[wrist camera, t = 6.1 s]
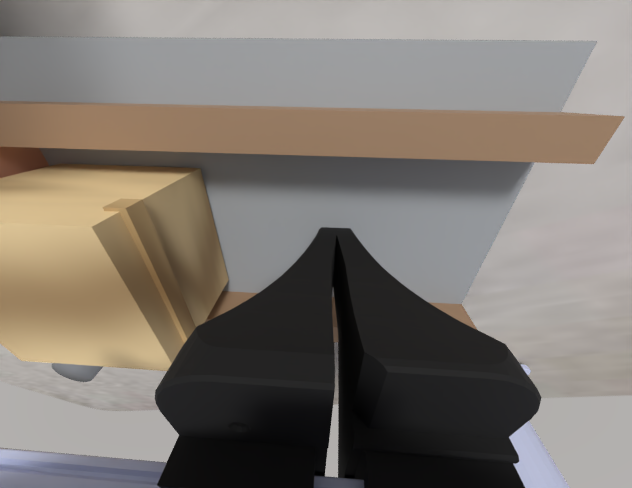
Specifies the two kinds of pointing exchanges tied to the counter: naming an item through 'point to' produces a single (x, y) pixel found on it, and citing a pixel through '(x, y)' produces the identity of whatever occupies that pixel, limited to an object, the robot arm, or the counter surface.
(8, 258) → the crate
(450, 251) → the bay
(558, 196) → the counter surface
